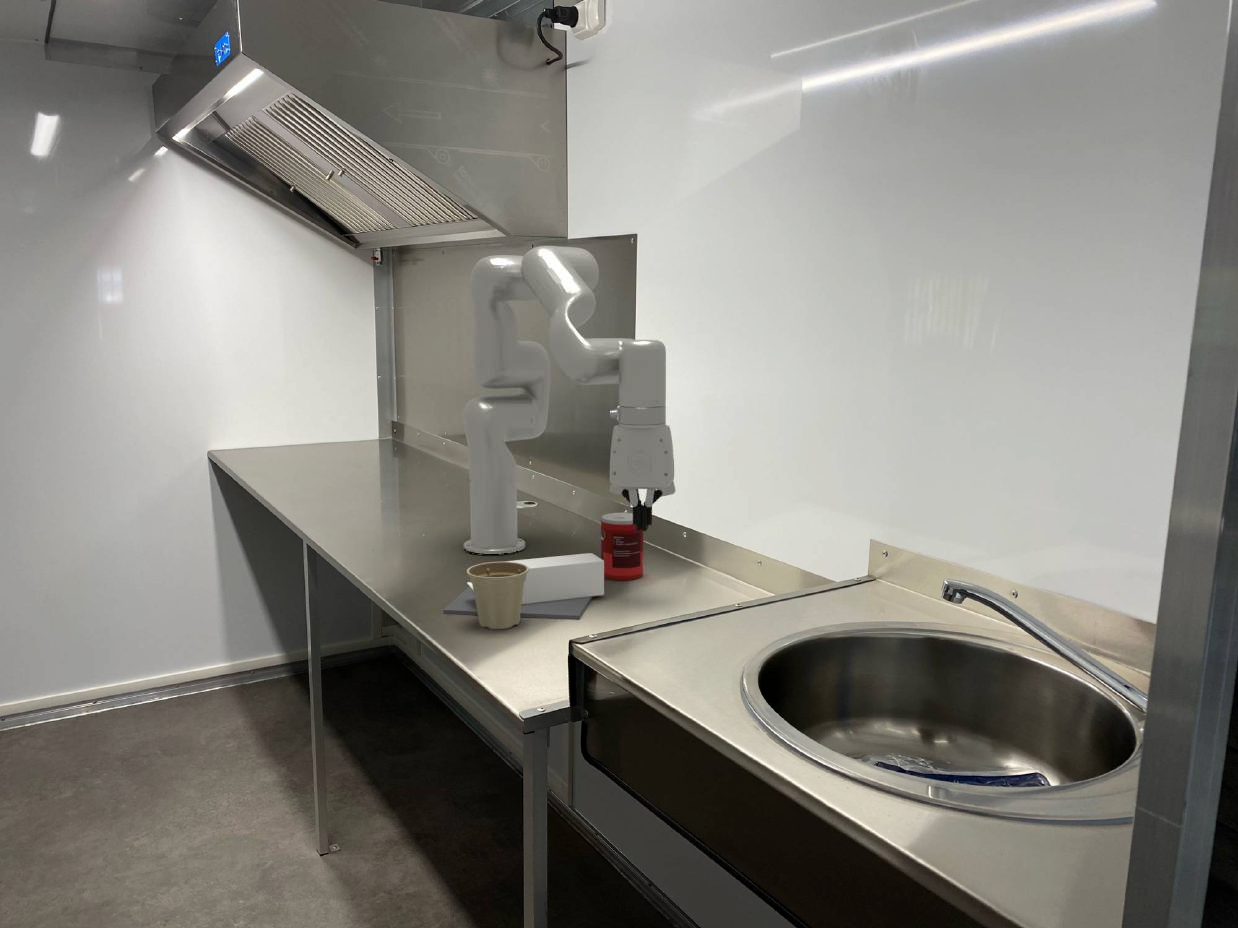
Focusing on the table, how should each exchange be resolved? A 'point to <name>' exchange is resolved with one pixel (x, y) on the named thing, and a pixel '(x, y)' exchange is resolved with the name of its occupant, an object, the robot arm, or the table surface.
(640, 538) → the canned food
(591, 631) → the table surface
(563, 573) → the milk
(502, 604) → the flower pot
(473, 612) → the mat
